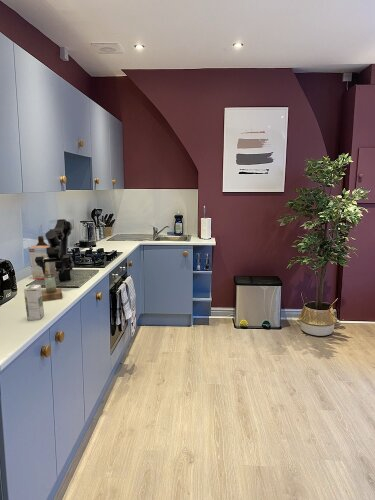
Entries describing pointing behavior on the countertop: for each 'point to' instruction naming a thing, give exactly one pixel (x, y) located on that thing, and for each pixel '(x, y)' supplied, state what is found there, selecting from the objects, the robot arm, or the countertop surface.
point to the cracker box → (37, 270)
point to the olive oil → (41, 241)
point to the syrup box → (34, 302)
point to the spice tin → (50, 283)
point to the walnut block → (52, 295)
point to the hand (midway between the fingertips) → (52, 273)
